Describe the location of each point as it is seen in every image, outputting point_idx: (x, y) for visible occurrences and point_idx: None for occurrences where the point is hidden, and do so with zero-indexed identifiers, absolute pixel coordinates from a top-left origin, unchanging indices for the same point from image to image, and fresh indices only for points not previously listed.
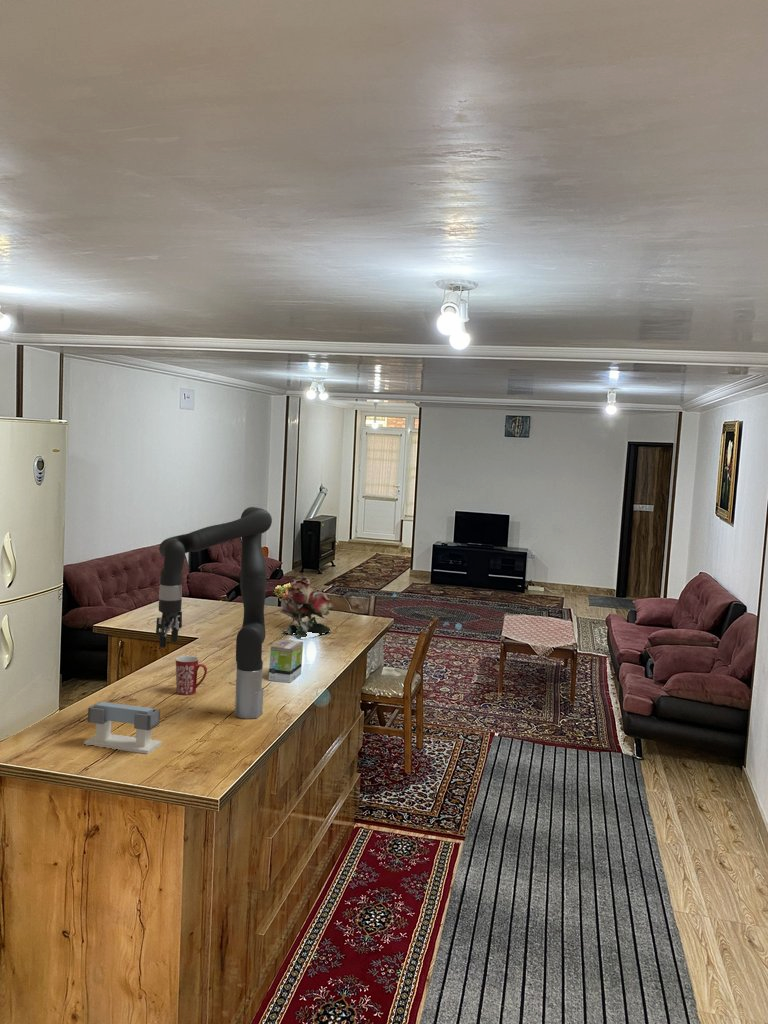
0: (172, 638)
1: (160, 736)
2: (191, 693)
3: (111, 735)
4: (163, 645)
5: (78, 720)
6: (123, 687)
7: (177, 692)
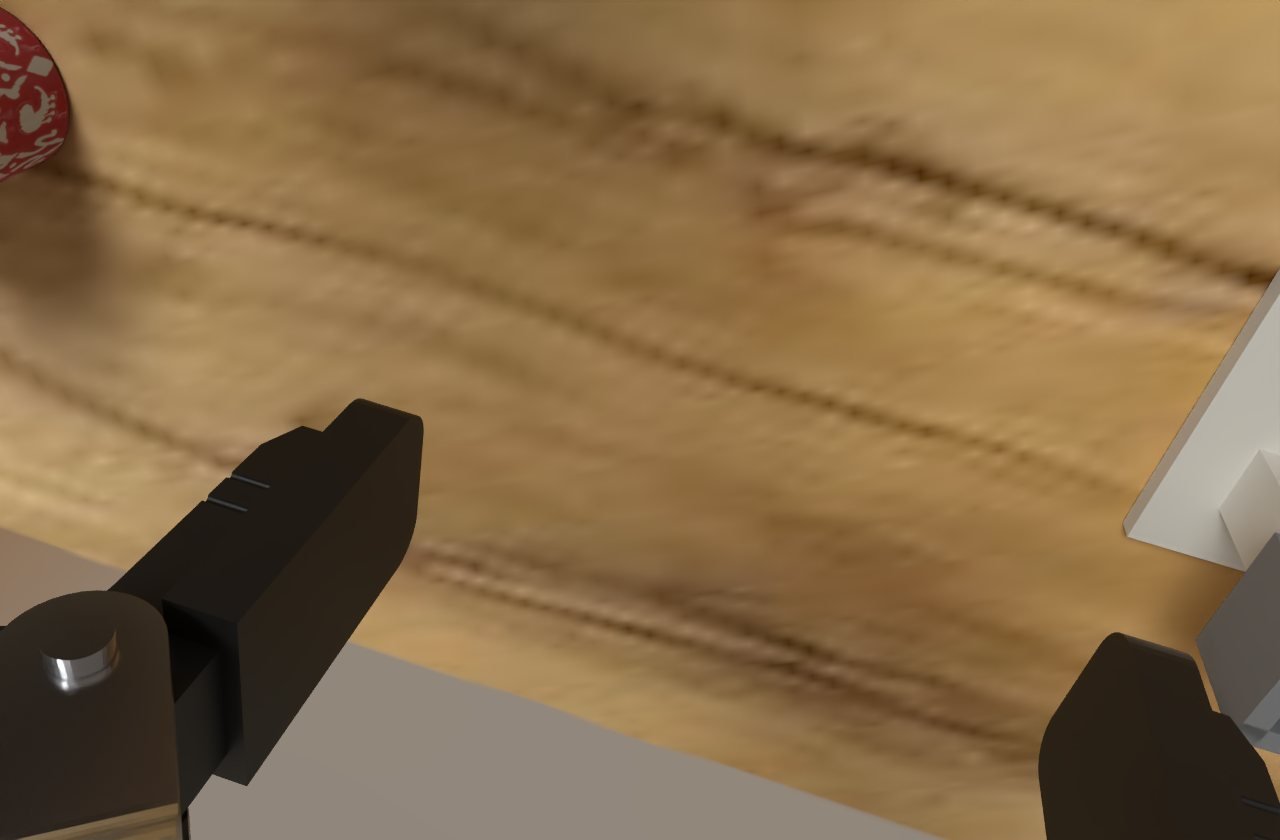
0: (372, 576)
1: (1199, 39)
2: (15, 22)
3: (1215, 450)
4: (1244, 740)
5: (796, 669)
6: (121, 524)
7: (53, 152)
